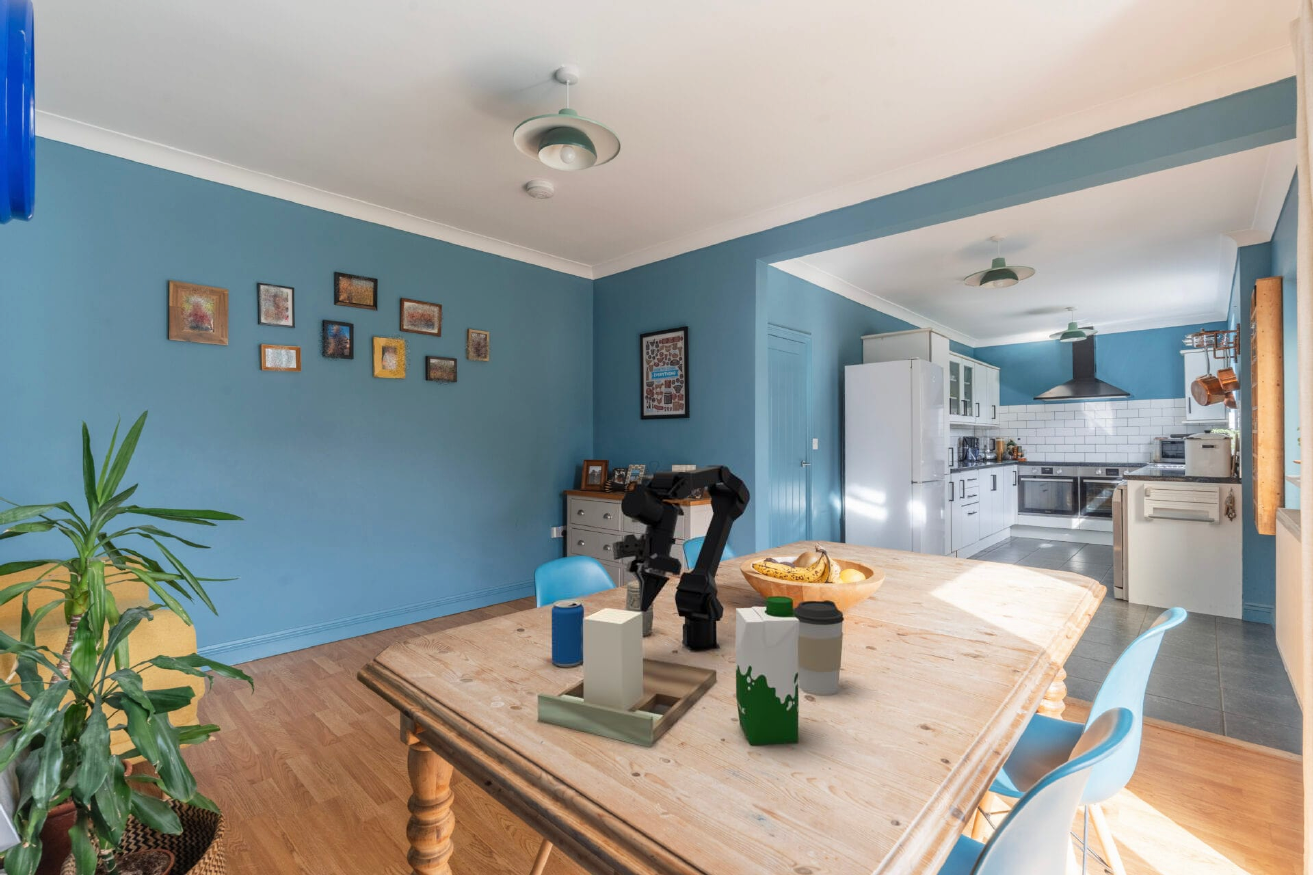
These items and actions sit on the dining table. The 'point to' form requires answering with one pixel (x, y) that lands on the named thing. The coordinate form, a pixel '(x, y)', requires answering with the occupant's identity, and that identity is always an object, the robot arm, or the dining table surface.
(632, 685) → the cream block
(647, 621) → the carving
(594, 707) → the tray
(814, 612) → the coffee cup
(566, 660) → the beverage can
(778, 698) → the milk carton
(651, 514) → the robot arm
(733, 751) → the dining table surface
